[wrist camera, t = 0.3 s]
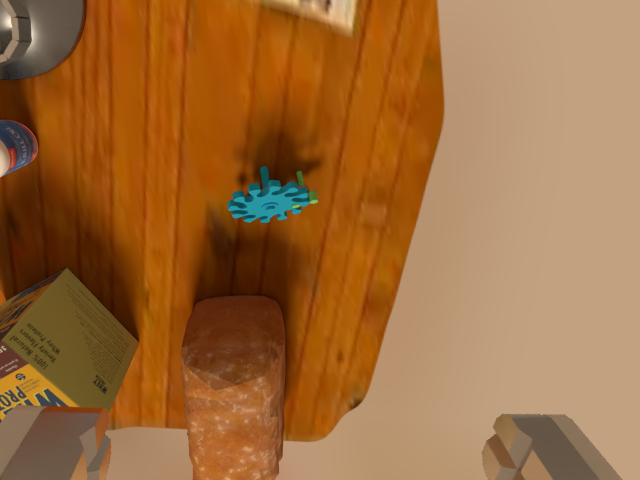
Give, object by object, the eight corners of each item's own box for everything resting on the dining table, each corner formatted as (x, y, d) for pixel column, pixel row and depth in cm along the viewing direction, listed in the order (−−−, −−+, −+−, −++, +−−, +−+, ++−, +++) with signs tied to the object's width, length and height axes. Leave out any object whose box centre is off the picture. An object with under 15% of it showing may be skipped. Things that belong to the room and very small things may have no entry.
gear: (226, 229, 53) (231, 193, 44) (221, 189, 55) (225, 146, 46) (308, 223, 57) (328, 188, 48) (301, 185, 59) (319, 145, 50)
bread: (284, 292, 61) (290, 365, 47) (282, 420, 72) (286, 510, 58) (188, 294, 60) (165, 371, 45) (200, 425, 70) (185, 520, 56)
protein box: (66, 265, 55) (0, 338, 41) (140, 342, 62) (105, 428, 48) (3, 300, 56) (-82, 384, 42) (83, 372, 63) (32, 465, 49)
